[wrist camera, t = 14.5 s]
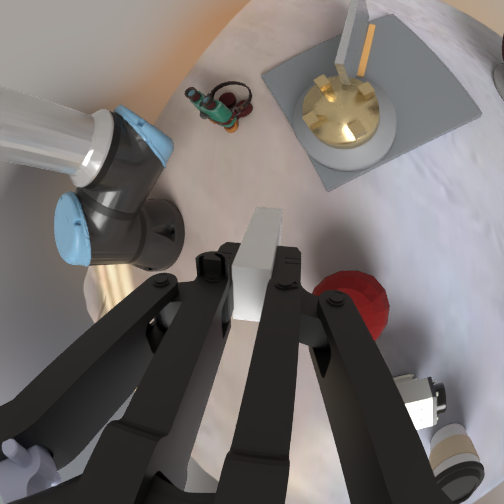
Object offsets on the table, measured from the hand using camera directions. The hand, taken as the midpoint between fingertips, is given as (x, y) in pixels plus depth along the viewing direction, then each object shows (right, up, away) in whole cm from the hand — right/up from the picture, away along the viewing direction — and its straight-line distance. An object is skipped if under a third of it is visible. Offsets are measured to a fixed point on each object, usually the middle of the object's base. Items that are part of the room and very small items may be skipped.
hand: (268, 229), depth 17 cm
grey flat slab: (+19, +26, +22) cm, 39 cm away
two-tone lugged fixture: (+15, +27, +19) cm, 36 cm away
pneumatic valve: (+23, -23, +20) cm, 38 cm away
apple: (+14, -9, +24) cm, 30 cm away
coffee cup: (+33, -34, +15) cm, 50 cm away
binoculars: (-4, +26, +34) cm, 43 cm away
